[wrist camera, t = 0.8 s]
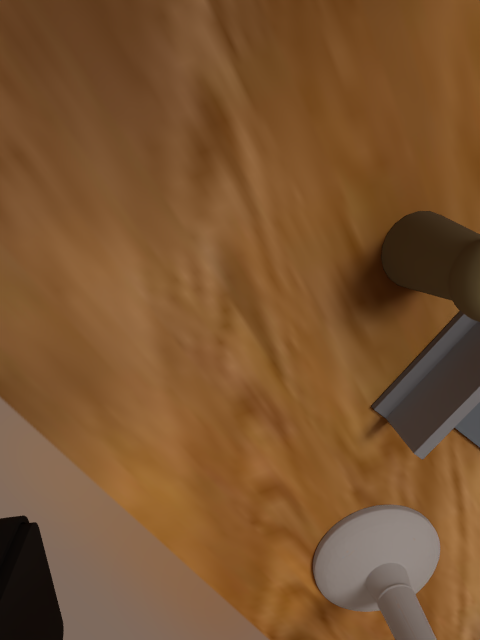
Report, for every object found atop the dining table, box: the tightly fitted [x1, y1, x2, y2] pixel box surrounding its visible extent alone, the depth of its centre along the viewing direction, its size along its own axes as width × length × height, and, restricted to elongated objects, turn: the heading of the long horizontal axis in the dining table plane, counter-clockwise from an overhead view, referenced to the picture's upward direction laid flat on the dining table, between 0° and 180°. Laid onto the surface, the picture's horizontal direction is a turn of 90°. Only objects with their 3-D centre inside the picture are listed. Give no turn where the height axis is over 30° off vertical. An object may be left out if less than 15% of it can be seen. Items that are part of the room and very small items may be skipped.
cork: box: [381, 211, 480, 322], centre depth 30 cm, size 6×6×11 cm
